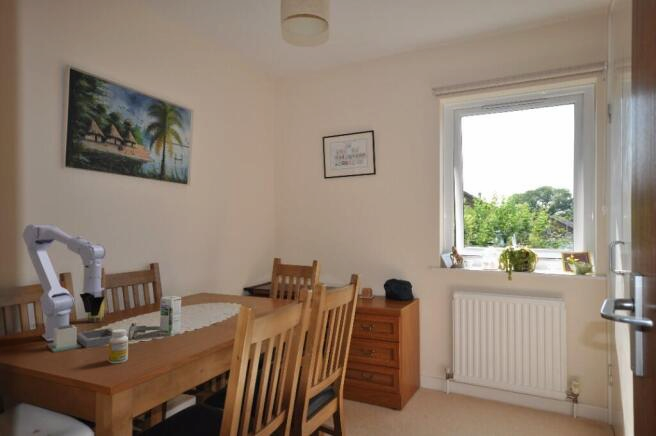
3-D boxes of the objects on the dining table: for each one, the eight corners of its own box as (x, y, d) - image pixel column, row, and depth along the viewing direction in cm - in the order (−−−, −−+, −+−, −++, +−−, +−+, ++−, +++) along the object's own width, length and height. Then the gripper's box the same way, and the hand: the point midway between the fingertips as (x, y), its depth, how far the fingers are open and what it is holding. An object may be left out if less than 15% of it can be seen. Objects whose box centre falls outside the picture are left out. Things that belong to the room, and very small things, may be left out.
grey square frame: (76, 339, 152) (76, 333, 152) (109, 334, 160) (109, 327, 160) (86, 348, 142) (86, 340, 142) (121, 341, 150) (121, 334, 150)
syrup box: (159, 334, 161) (159, 297, 161) (170, 330, 167) (170, 295, 167) (170, 335, 159) (171, 298, 159) (181, 332, 165) (181, 296, 165)
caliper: (130, 341, 152) (130, 324, 152) (128, 340, 153) (128, 323, 153) (171, 328, 171) (172, 313, 171) (169, 328, 171) (170, 313, 171)
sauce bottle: (85, 321, 180) (86, 276, 180) (100, 318, 184) (101, 275, 185) (91, 323, 175) (92, 277, 176) (106, 321, 180) (107, 276, 181)
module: (53, 345, 143) (54, 326, 143) (73, 341, 147) (73, 323, 147) (56, 348, 140) (57, 328, 140) (76, 344, 144) (77, 325, 144)
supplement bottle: (113, 358, 132) (114, 328, 132) (130, 358, 133) (131, 328, 133) (105, 364, 127) (106, 332, 127) (123, 363, 127) (124, 332, 127)
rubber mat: (47, 345, 144) (47, 344, 144) (73, 341, 150) (73, 339, 150) (53, 352, 137) (53, 350, 137) (80, 347, 142) (80, 346, 142)
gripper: (110, 278, 149) (109, 315, 149) (98, 274, 159) (97, 309, 159) (88, 280, 144) (87, 318, 144) (77, 275, 154) (77, 311, 154)
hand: (91, 313), depth 151 cm, fingers open, 7 cm apart
